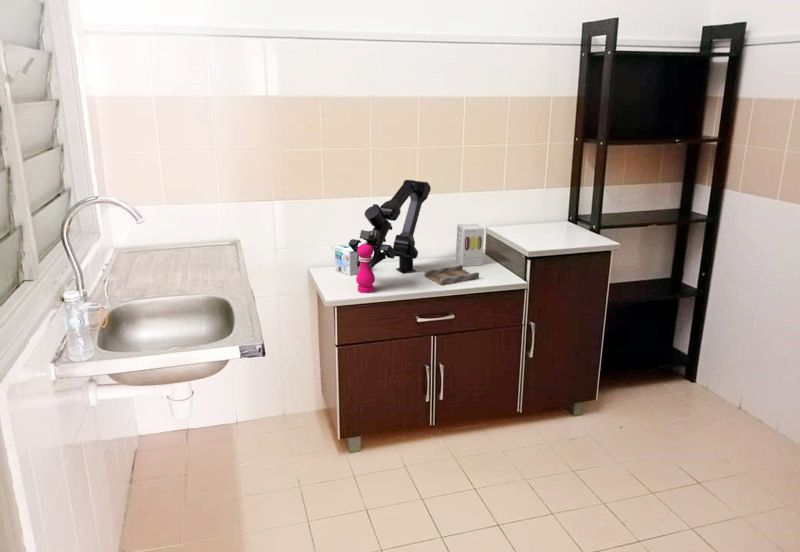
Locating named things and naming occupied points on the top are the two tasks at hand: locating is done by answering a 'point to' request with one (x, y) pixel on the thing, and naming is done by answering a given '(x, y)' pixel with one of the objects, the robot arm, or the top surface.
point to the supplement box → (469, 244)
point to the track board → (450, 275)
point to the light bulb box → (346, 260)
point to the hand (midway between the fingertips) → (363, 267)
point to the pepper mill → (365, 268)
